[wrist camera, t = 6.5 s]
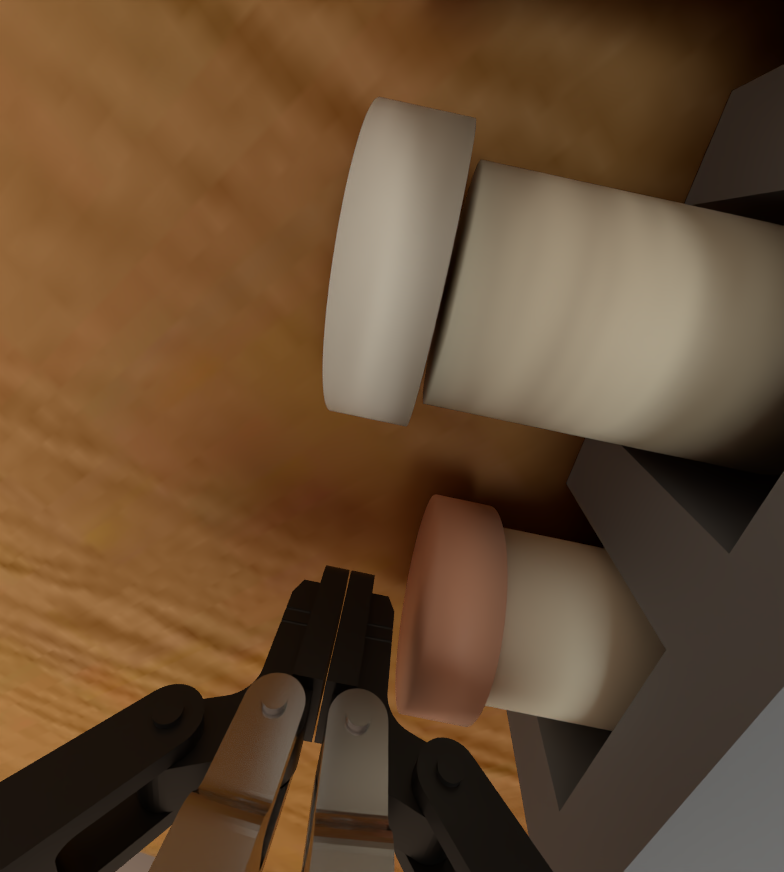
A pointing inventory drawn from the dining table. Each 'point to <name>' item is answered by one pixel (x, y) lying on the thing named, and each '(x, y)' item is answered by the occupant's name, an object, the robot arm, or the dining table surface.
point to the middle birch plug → (550, 301)
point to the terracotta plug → (516, 624)
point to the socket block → (683, 621)
